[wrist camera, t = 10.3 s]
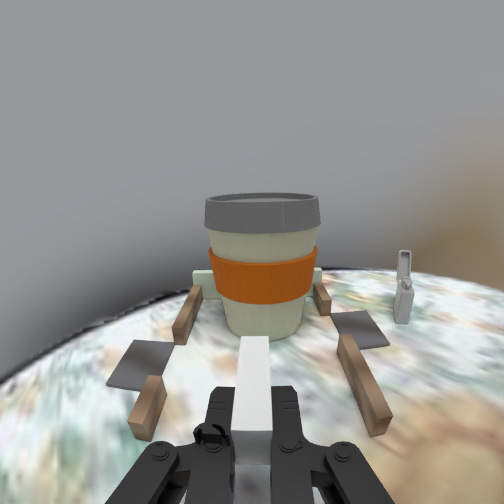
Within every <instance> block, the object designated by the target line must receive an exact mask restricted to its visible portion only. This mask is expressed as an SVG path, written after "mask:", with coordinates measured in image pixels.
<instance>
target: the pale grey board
mask: <svg viewBox="0 0 504 504" xmlns="http://www.w3.org/2000/svg"><path fill="white" fill-rule="evenodd" d="M192 274H193V284H194V285H202V293H203V299H222V296H221V294H219V292H218V291H217V290H216V285H215V280H214V276H213V271H212V270H205V271H202V270H198V271H194V272H193V273H192ZM313 282H322V269H321V268H314V273H313V279H312V284H311V288H310V290H309V291H308V292H307V293H306V297H310V296H313Z"/></svg>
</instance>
